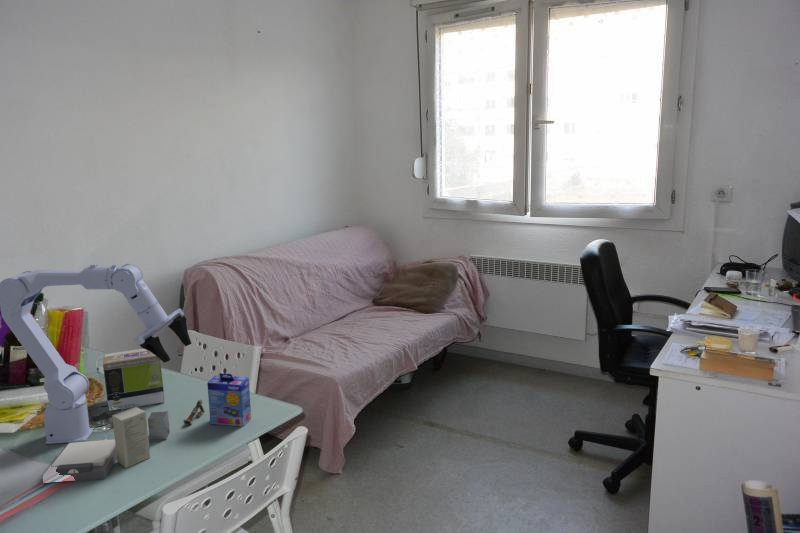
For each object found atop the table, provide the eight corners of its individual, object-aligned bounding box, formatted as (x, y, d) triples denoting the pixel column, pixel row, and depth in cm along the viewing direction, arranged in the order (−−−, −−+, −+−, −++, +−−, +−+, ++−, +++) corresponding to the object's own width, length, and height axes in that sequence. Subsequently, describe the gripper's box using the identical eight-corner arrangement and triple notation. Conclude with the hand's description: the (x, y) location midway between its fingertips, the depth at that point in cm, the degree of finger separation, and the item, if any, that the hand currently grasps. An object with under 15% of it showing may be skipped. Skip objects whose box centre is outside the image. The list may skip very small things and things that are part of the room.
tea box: (162, 391, 182) (159, 345, 179) (164, 403, 173) (160, 355, 170) (108, 399, 176) (103, 352, 173) (107, 413, 167) (102, 363, 164)
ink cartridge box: (208, 425, 159) (205, 374, 156) (218, 416, 165) (214, 366, 162) (243, 427, 158) (240, 376, 155) (251, 418, 163) (249, 368, 160)
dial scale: (42, 484, 131) (40, 470, 131) (67, 452, 145) (65, 440, 144) (104, 479, 133) (103, 466, 133) (123, 448, 147) (122, 436, 146)
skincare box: (141, 452, 145) (137, 405, 143) (151, 458, 142) (146, 410, 140) (116, 462, 140) (111, 414, 138) (125, 468, 137) (120, 420, 135)
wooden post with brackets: (208, 409, 167) (203, 398, 164) (194, 431, 161) (189, 420, 158) (202, 408, 167) (197, 397, 165) (188, 430, 161) (183, 419, 158)
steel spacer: (149, 441, 151) (147, 419, 149) (153, 433, 154) (151, 412, 153) (166, 439, 151) (164, 418, 150) (169, 432, 155) (167, 411, 154)
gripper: (133, 319, 140) (166, 365, 143) (177, 290, 152) (206, 334, 155) (118, 326, 144) (150, 371, 147) (162, 298, 156) (191, 340, 159)
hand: (178, 352), depth 151 cm, fingers open, 7 cm apart
